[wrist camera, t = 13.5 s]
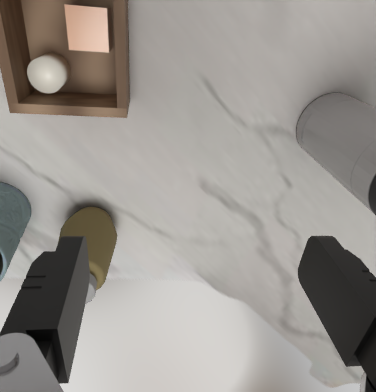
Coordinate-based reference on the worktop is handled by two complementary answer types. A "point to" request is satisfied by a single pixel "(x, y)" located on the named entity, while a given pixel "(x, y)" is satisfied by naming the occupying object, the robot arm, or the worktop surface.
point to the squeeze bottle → (94, 242)
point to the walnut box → (78, 60)
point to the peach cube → (88, 28)
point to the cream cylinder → (48, 72)
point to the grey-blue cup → (11, 222)
